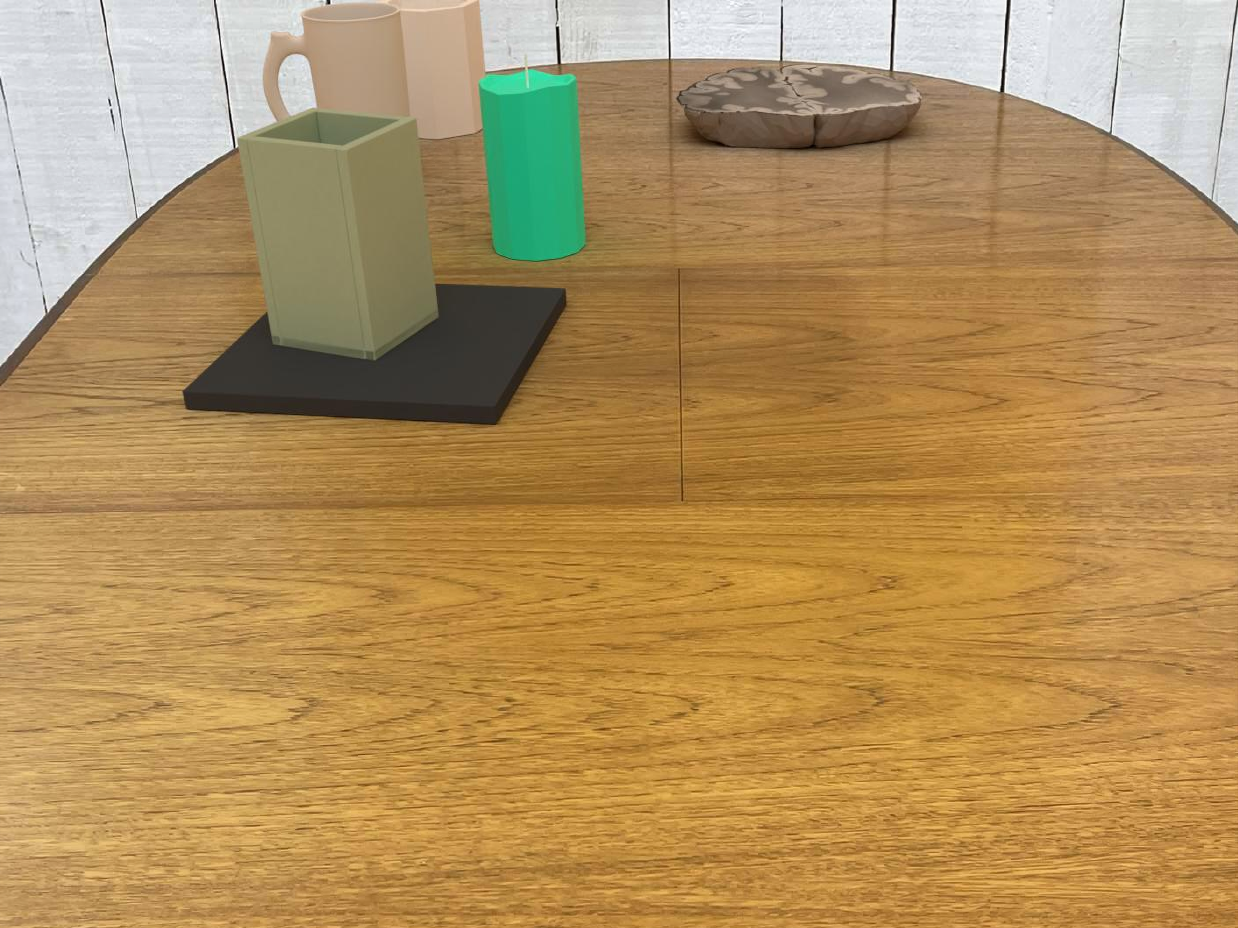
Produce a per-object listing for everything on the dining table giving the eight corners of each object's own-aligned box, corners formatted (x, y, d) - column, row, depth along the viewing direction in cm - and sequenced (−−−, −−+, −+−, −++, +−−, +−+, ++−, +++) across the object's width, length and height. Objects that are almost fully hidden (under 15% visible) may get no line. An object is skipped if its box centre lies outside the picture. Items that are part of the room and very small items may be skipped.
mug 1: (419, 166, 108) (401, 0, 102) (420, 192, 102) (400, 17, 96) (283, 174, 107) (256, 6, 100) (276, 201, 101) (246, 25, 95)
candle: (602, 249, 91) (592, 56, 85) (516, 267, 89) (500, 69, 82) (560, 224, 96) (548, 39, 90) (478, 240, 93) (460, 51, 87)
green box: (236, 137, 70) (345, 149, 68) (312, 107, 75) (416, 117, 73) (272, 344, 76) (375, 361, 74) (341, 303, 81) (439, 317, 79)
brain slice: (883, 95, 125) (885, 60, 124) (937, 147, 111) (940, 108, 109) (662, 105, 123) (661, 70, 122) (687, 160, 109) (687, 120, 107)
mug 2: (492, 111, 122) (482, -10, 117) (486, 138, 115) (475, 10, 110) (351, 115, 121) (334, -6, 117) (336, 142, 114) (317, 14, 109)
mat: (185, 409, 71) (181, 391, 71) (304, 294, 85) (301, 278, 84) (496, 424, 69) (494, 406, 69) (566, 304, 83) (565, 287, 83)
